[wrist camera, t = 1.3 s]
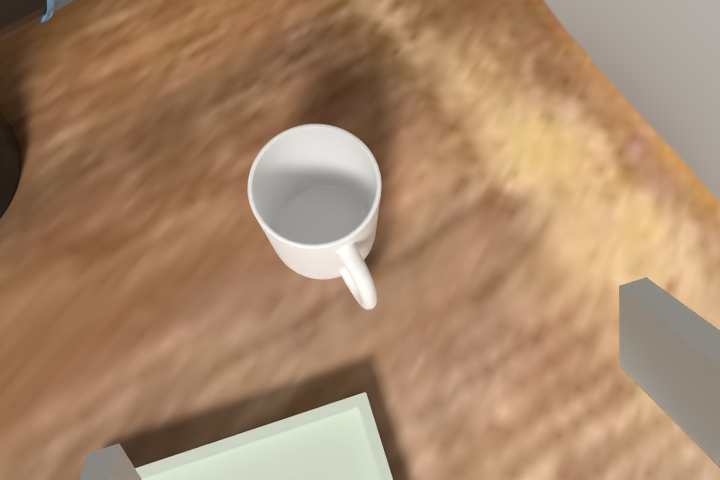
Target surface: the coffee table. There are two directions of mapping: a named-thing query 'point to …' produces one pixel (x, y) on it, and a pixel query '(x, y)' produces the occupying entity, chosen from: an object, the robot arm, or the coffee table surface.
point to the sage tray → (289, 450)
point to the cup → (319, 204)
